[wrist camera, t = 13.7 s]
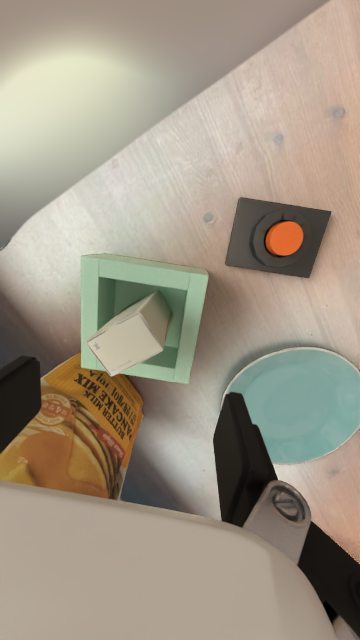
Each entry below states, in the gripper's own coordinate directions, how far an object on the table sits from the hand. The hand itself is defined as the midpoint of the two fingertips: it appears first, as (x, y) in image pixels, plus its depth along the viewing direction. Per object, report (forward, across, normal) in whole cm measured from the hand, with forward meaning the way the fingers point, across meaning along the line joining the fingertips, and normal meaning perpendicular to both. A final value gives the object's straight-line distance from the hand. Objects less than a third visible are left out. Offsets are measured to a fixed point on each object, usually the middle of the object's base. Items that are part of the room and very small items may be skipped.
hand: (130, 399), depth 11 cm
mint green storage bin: (+22, +3, +2) cm, 22 cm away
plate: (+22, -21, +14) cm, 34 cm away
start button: (+20, -12, -10) cm, 25 cm away
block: (+22, -12, -10) cm, 27 cm away
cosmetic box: (+21, +3, +2) cm, 22 cm away
